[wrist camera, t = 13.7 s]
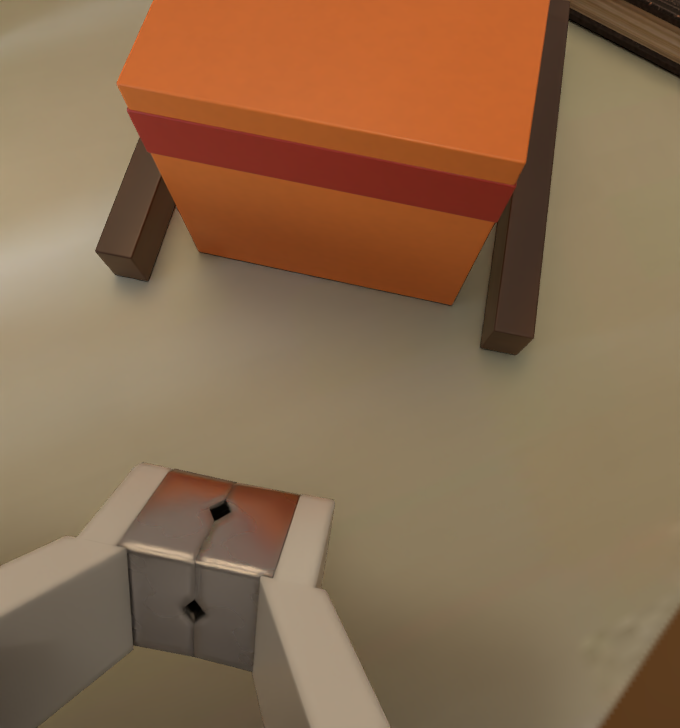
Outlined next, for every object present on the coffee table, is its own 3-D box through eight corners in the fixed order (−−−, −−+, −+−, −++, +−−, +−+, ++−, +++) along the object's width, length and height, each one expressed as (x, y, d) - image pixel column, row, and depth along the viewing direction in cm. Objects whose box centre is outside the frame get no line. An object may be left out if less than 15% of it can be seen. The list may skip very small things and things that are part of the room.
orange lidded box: (196, 252, 23) (112, 84, 14) (276, 24, 27) (247, -218, 18) (453, 307, 22) (528, 165, 13) (496, 65, 26) (577, -166, 17)
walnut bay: (114, 275, 22) (93, 251, 20) (223, -18, 27) (215, -59, 25) (516, 355, 21) (534, 338, 20) (553, 38, 26) (571, 0, 25)
